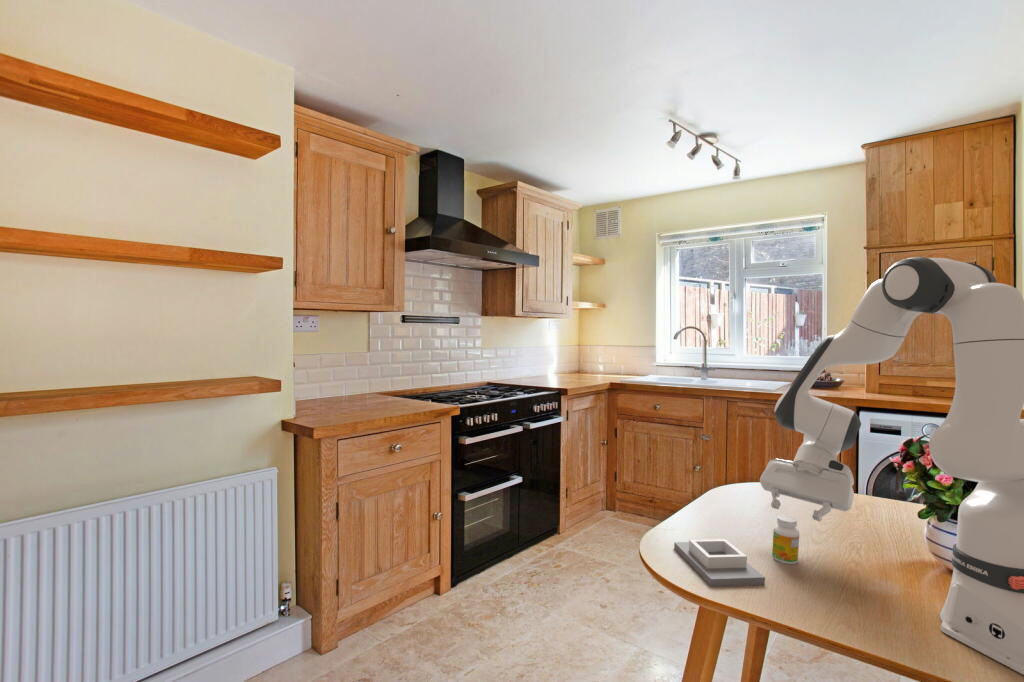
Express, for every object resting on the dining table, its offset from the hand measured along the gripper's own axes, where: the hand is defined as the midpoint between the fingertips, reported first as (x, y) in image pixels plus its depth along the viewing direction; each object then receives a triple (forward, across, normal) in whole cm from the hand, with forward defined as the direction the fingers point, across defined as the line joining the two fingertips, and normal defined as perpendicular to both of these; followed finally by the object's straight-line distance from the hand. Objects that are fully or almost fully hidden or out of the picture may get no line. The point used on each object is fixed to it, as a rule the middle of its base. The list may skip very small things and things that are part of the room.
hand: (794, 513), depth 127 cm
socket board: (+22, -8, -8) cm, 24 cm away
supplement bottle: (+10, 0, +4) cm, 11 cm away
